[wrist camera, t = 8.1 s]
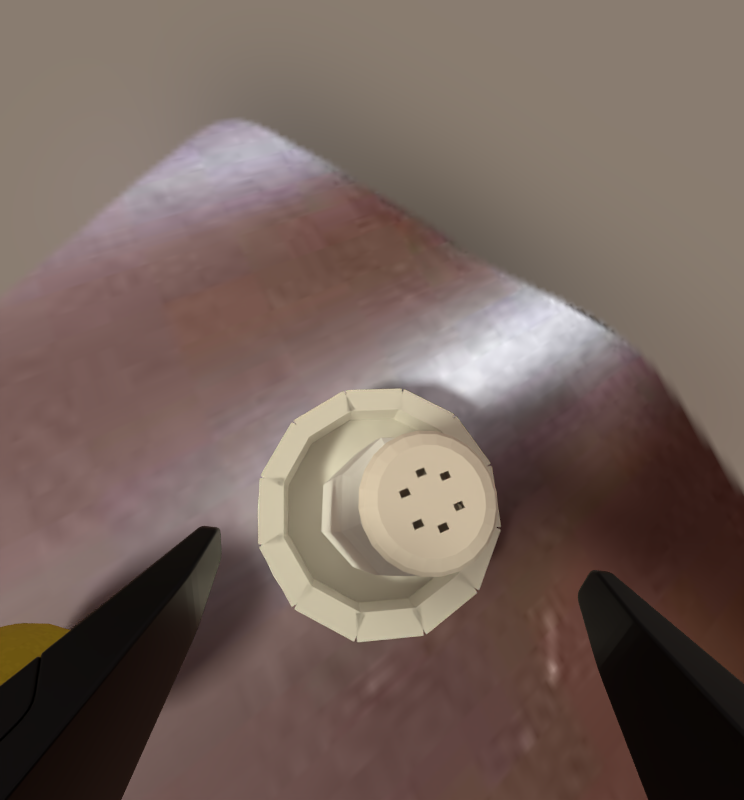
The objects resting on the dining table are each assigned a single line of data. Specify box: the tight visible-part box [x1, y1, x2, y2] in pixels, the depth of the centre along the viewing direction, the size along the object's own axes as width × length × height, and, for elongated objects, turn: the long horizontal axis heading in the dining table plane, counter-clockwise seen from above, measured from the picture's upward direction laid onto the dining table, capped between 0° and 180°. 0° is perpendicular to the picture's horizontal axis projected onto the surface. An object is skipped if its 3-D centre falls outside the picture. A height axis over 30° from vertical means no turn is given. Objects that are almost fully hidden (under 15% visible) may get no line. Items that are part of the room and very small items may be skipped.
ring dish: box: [258, 389, 501, 642], centre depth 17 cm, size 11×11×2 cm
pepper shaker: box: [321, 431, 498, 577], centre depth 12 cm, size 5×5×11 cm
